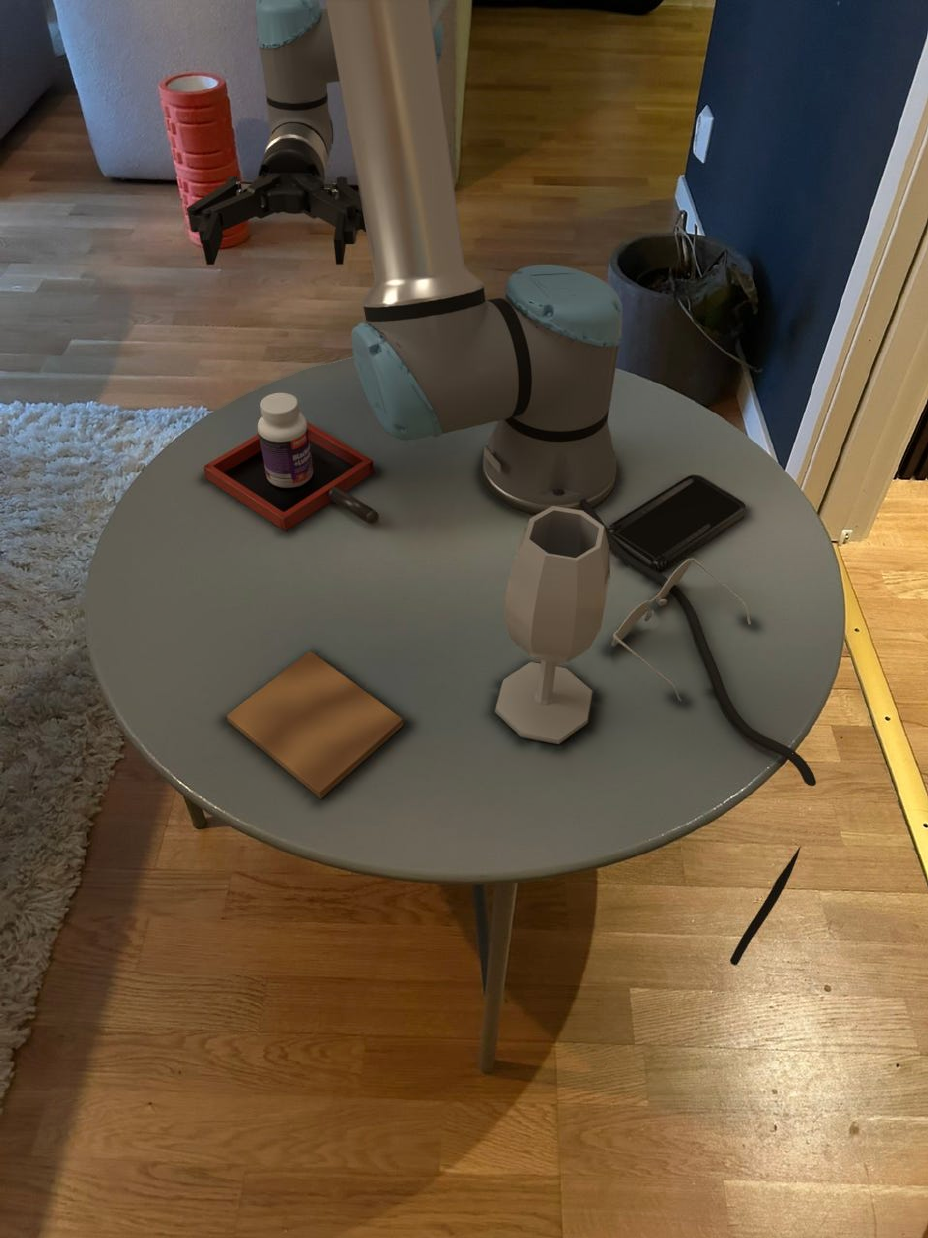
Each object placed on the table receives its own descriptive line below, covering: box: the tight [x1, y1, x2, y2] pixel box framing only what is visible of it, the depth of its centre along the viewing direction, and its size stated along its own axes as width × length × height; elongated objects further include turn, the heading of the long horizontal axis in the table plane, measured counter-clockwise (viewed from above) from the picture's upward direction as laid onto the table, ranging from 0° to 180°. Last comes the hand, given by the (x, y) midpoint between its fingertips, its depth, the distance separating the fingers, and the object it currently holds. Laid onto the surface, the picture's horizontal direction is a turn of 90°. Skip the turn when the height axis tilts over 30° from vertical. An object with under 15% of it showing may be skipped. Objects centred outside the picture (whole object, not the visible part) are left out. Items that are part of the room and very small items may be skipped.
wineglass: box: [494, 506, 611, 745], centre depth 74 cm, size 9×9×21 cm
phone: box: [607, 474, 746, 573], centre depth 98 cm, size 8×1×15 cm
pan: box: [202, 421, 380, 532], centre depth 102 cm, size 21×14×2 cm, turn 49°
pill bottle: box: [257, 392, 313, 488], centre depth 100 cm, size 5×5×10 cm
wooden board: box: [226, 650, 404, 799], centre depth 80 cm, size 12×10×1 cm
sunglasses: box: [611, 557, 752, 702], centre depth 86 cm, size 14×8×5 cm, turn 139°
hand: (273, 252), depth 95 cm, fingers open, 13 cm apart
